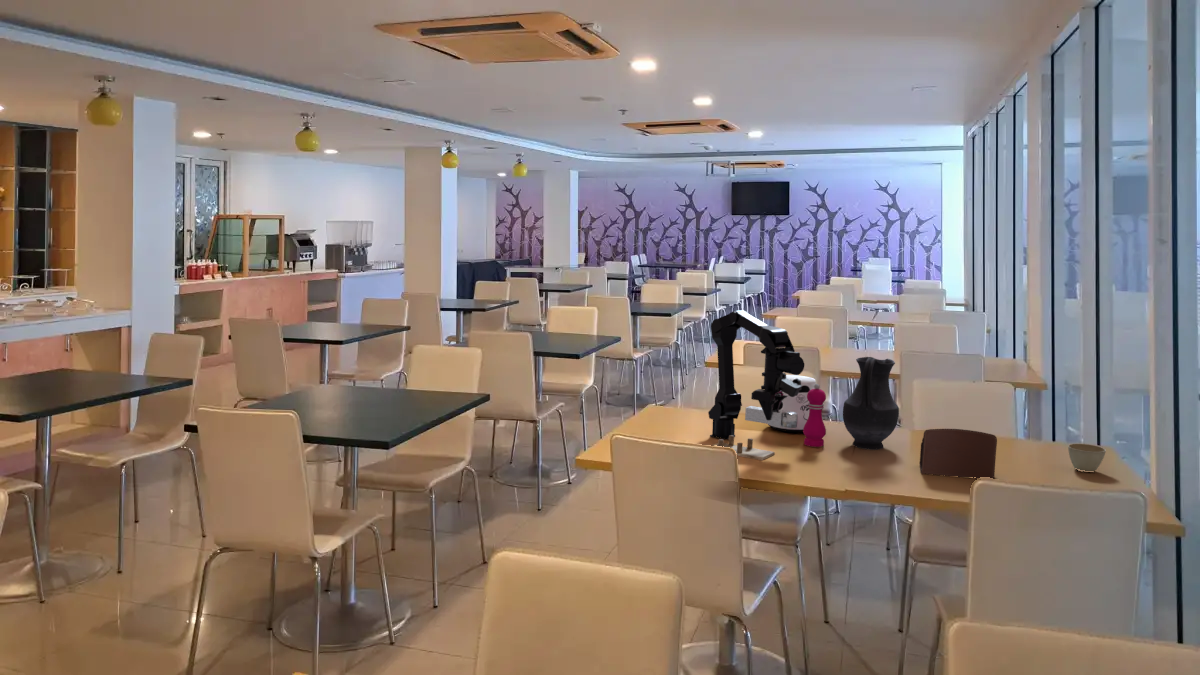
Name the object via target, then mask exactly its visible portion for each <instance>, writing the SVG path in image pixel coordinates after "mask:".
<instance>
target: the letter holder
mask: <svg viewBox="0 0 1200 675" xmlns="http://www.w3.org/2000/svg"><path fill="white" fill-rule="evenodd" d="M997 444H998V438H997V436H996V435H995V434H992V433H987V432H983V431H979V430H978V431H977V430H971V429H962V428H961V429H960V428H928V429H926V430H924V431H923V437H922V440H921V443H920V453H919V454H920V455H919V468H920V469H919V470H920V474H921V473H922V474H921V475H929V474H933V475H932V476H940V475H943V476H944V475H945V476H944V477H950V476H958V477H957V478H960V477H973V478H974V477H976V478H975V479H974V480H978V479H977V478H980V477H990V478H994V479H995V473H996V472H995V471H996V470H995V469H996V461H997V460H996V457H997ZM943 476H942V477H943Z"/></svg>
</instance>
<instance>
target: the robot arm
mask: <svg viewBox="0 0 1200 675" xmlns="http://www.w3.org/2000/svg"><path fill="white" fill-rule="evenodd" d="M741 328H743V329H744V330H746V331H748V332H749V333H751V334H752V335H755V336H756V337H757V338H758V340H759V342H760V343H761V344H762V346H764V348H763V349H762V350H761V351H760V353H761V354H763V355H764V372H761V376H762V377H763V385H761V386H760V388H758V389H755V390H754V391H752V392H751V397H750V398H751V400H752V401H753V400H754V401H757V402H758V403H759V405H760V407H761V408H762V410H763V412H764V414H765V417H766V419H767V420H770V419H771V415H772V410H773V409H774V410H778V409H779V406H780V404H781V401H782V400H784V399H785V398H786V397H787V396H785V395H783V393H782V392H784V393H786V394H788V395H789V396H791V397H794V396H797V395H798V393H799V391H800V390H801V389H802V388H801V386H802V385H801V380H799V379H797V378H796V379H794V380H793V381H792V380H788V379H786V375H787V374H788V375H799V376H800V375H801V374H802V373H803V371H804V369H805V361H804V359H803V358H802V357H801V352H797V351H796V350H795V348H794V345H793V344H792V341H791V339H790V336H789V333H788V331H787V330H786V329H784V328H781V327H778V326H772V325H771V326H770V325H769V324H766V323H765V322H763V321H761V320H760V319H758V318H756V317H754V316H753V315H751V314H749V313H748V312H747V311H746V310H733V311H731V312H730V313H728V314H725V315H723V316H721V317H719V318H714V320H712V322H711V323H710V331H711V338H712V340H713V341H714V343H715V345H716V346H717V348H716V350H717V367H718V368H717V369H718V371H717V372H718V390H717V392H716V395H715V396H714V397H715V398H714V405H713V406H712V407H711V408H710V410H709V411H708V412H707V413H708V417H709V419H710V420H712V430H711V431H712V432H711V434H710V435H709V437H710V438H717V439H722V440H729V435H733V436H734V438H735V437H736V434H735V430H736V426H735V425H736V424H735V419H736V420H737V419H738V418H739V415H740V412H741V410H742V406H743V403H742V394H741V393H738V391H737V390H736V388H735V375H734V374H735V373H734V371H735V369H734V352H733V350H734V348H733V344H734V343H735V341H736V338H737V336H738V330H740V329H741Z"/></svg>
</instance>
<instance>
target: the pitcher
mask: <svg viewBox="0 0 1200 675" xmlns="http://www.w3.org/2000/svg"><path fill="white" fill-rule="evenodd" d="M856 363H857V364H858V367H859V372H860V377H859V380H858V381H857V384H856V387H855V388H854V389H853V392H851V394H850V396H849V397H848V398H847V399H845V401H844V403H843V407H842V420H843V424H844V427H845V429H846V430H847V432H848V433H849V435H850V436H851V437H852V438H853V439H854V440H853V442H852V445H853V446H854V447H855V448H858V449H864V450H870V451H871V450H872V451H873V450H874V451H875V450H876V451H877V450H882V449H884V444H883V441H884V440H886V439H887V438H888V437H890V436H891V435H892V433H893V432H894V430H895V429H896V427H897V424H898V421H899V417H900V416H899V414H900V408H899V404H897V403H896V402H895V400H894V399H893V396H892V394H891V390H890V389H891V388H890V375H891V374H890V373H891V371H892V369H893V367H894V366H895V364H896V361H895V360H893V359H890V358H886V359H885V358H884V359H879V358H875V357H872V356H865V357H864V356H863V357H857V358H856Z"/></svg>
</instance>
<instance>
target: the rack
mask: <svg viewBox="0 0 1200 675" xmlns="http://www.w3.org/2000/svg"><path fill="white" fill-rule="evenodd" d="M724 441H725V439H721V438H718V442H717V443H715V444H713V445H717V446H722V447H723V446H724V447H730V448H733V449H734V450H735V451H736V453H737V455H738V456H737V457H743V458H746V459H747V458H748V459H752V460H758V461H764V460H766V459H768V458H770V457H772V456H774V455H775V454H776V453H775V451H771V450H765V449H759V448H756V447H753V445H754V444H753V443H754V441H753V438H747V440H746V441H747V443H746V444H747V446H743V443H742V442H737V444H734V442H735V437H734V436H733V435H729V439H728V443H725V442H724Z"/></svg>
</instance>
